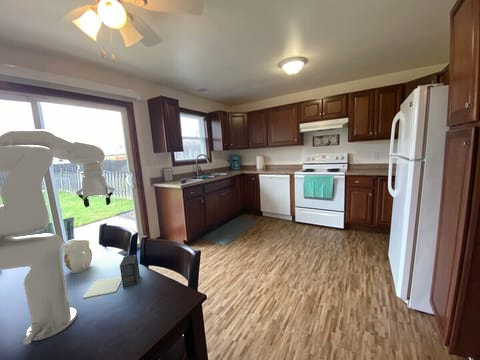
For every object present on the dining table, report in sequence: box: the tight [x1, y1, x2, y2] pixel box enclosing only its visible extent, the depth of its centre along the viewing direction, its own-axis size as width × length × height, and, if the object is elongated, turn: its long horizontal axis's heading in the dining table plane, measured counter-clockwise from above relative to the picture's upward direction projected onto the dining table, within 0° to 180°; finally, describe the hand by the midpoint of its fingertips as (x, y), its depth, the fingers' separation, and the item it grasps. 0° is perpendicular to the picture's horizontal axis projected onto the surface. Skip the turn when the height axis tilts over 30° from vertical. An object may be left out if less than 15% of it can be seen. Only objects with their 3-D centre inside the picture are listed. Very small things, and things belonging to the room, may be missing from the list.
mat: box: [82, 275, 122, 299], centre depth 89 cm, size 12×12×1 cm
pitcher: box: [63, 239, 93, 274], centre depth 103 cm, size 11×18×14 cm, turn 57°
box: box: [119, 254, 141, 289], centre depth 91 cm, size 8×6×11 cm
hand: (97, 205), depth 108 cm, fingers open, 9 cm apart
